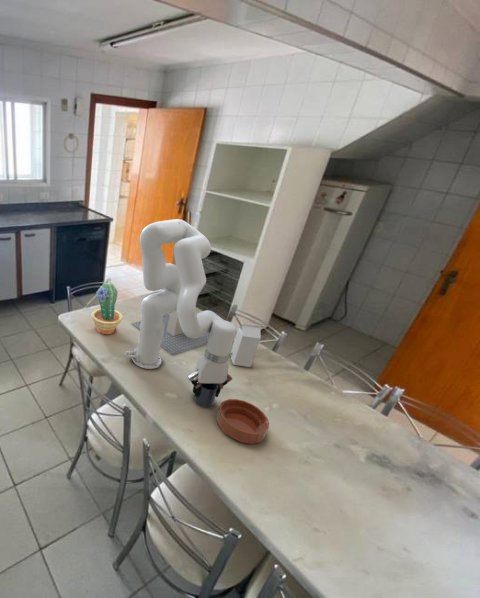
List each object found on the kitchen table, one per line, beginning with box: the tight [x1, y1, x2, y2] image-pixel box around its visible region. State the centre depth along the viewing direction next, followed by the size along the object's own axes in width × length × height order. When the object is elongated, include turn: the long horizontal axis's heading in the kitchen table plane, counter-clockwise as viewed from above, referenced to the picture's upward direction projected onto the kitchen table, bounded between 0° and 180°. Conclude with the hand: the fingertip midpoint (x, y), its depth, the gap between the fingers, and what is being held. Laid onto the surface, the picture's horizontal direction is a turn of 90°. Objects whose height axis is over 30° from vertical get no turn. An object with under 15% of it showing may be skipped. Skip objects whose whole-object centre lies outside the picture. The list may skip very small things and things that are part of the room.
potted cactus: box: [91, 281, 124, 335], centre depth 158 cm, size 15×15×25 cm
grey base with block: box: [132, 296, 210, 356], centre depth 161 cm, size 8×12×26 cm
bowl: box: [215, 398, 270, 445], centre depth 110 cm, size 15×15×5 cm
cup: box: [193, 383, 218, 408], centre depth 120 cm, size 7×7×8 cm
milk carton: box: [230, 323, 262, 368], centre depth 140 cm, size 7×7×19 cm
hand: (205, 394), depth 120 cm, fingers closed on cup, 6 cm apart
